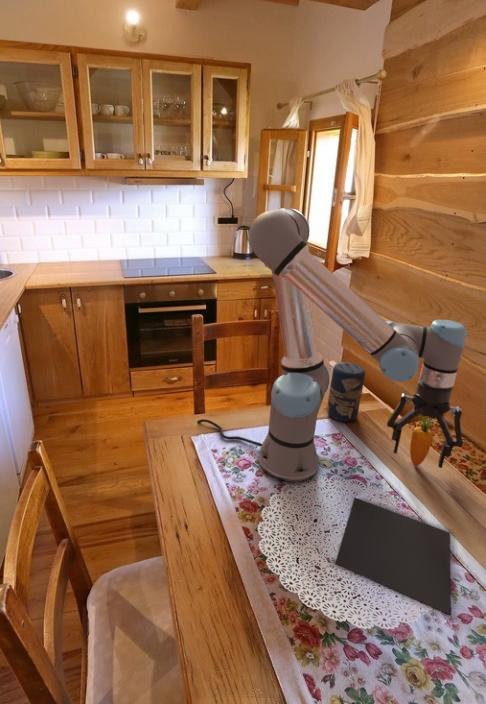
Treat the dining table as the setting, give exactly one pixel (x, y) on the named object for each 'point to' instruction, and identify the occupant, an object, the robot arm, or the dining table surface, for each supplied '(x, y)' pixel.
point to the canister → (345, 391)
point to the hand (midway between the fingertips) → (417, 457)
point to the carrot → (421, 441)
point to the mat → (398, 553)
